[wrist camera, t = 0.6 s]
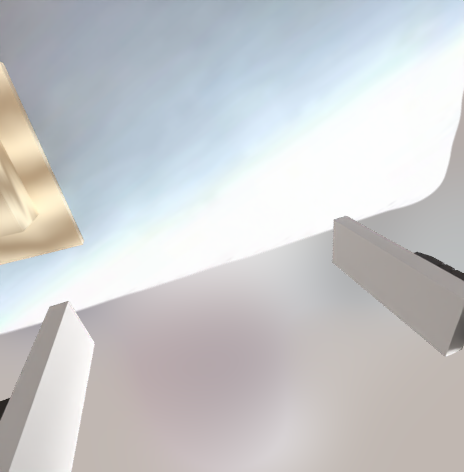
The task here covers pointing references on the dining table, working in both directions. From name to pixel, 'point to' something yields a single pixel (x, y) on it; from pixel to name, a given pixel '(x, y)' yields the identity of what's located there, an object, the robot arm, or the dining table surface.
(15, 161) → the socket block
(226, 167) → the dining table surface
